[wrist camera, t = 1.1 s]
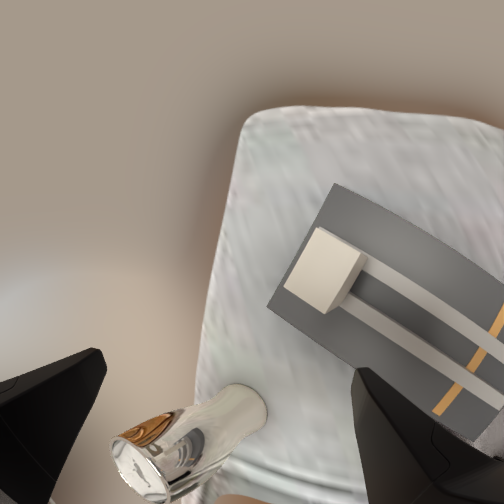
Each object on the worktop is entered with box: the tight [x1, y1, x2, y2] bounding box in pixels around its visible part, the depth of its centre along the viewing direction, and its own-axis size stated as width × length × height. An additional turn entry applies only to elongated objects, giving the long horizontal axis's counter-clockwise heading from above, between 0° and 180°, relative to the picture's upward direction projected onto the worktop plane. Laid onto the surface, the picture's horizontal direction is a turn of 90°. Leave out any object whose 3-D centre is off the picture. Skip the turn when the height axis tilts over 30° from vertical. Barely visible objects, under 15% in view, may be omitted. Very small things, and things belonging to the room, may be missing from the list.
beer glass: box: [109, 384, 267, 504], centre depth 20 cm, size 7×7×15 cm
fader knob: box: [283, 227, 368, 314], centre depth 18 cm, size 3×4×6 cm
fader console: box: [267, 183, 504, 442], centre depth 18 cm, size 24×12×3 cm, turn 59°
